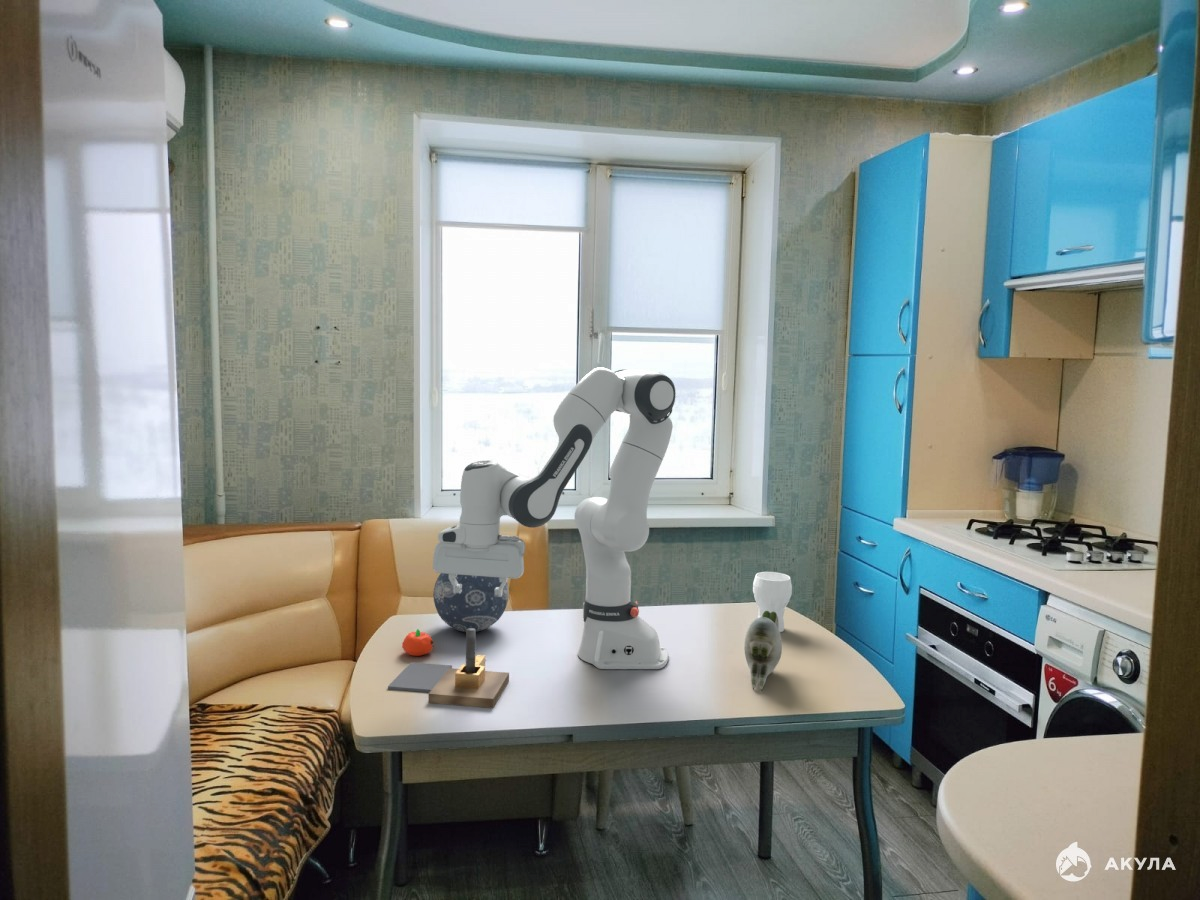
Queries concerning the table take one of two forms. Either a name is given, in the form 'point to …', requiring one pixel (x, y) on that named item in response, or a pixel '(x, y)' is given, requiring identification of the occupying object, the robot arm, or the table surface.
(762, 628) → the toy
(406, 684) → the mat
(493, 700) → the stand
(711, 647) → the table surface
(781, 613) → the cup
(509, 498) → the robot arm
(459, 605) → the decorative ball
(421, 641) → the pumpkin
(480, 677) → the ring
